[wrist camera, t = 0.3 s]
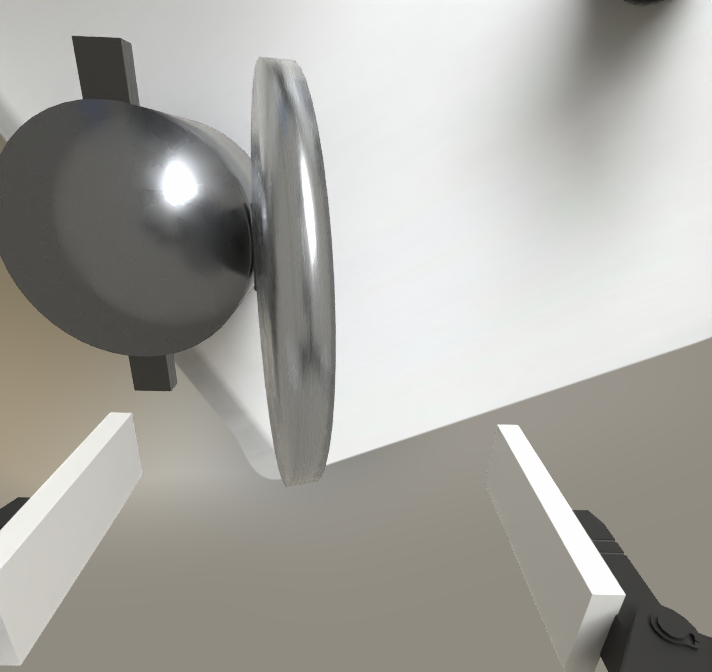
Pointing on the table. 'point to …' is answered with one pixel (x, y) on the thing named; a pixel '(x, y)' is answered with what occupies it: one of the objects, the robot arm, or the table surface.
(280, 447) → the lid
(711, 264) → the table surface
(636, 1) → the french press
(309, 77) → the table surface
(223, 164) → the pot
